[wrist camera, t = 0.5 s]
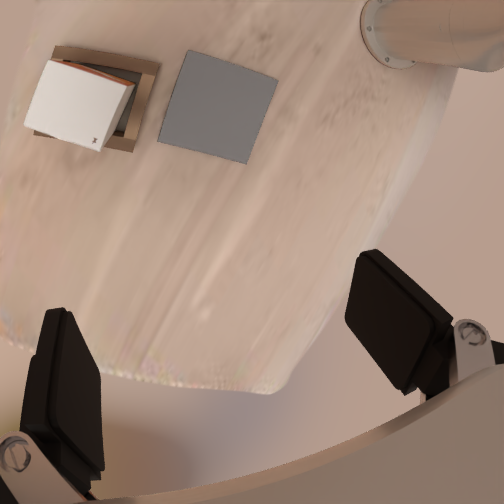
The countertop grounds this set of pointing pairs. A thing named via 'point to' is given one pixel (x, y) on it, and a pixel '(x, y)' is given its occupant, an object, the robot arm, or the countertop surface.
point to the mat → (217, 108)
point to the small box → (78, 104)
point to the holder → (149, 69)
